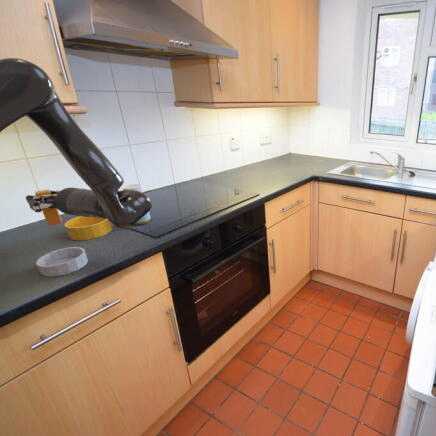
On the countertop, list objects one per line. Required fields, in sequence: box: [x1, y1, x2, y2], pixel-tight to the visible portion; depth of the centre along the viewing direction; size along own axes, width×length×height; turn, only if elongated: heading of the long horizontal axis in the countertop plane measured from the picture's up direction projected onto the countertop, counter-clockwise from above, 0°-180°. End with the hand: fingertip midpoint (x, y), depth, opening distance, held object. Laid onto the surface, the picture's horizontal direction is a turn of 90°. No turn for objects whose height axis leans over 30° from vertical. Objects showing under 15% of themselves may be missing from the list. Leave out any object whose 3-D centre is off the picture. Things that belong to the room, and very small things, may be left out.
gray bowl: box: [35, 246, 89, 278], centre depth 90 cm, size 11×11×4 cm
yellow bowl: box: [64, 216, 114, 241], centre depth 110 cm, size 13×13×5 cm
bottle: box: [122, 183, 152, 226], centre depth 117 cm, size 7×7×15 cm
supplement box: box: [34, 189, 63, 227], centre depth 86 cm, size 3×3×10 cm
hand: (38, 196), depth 85 cm, fingers closed on supplement box, 4 cm apart
